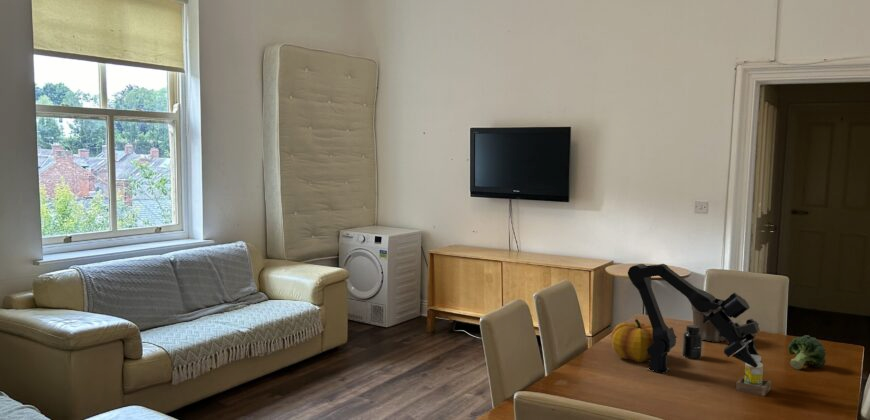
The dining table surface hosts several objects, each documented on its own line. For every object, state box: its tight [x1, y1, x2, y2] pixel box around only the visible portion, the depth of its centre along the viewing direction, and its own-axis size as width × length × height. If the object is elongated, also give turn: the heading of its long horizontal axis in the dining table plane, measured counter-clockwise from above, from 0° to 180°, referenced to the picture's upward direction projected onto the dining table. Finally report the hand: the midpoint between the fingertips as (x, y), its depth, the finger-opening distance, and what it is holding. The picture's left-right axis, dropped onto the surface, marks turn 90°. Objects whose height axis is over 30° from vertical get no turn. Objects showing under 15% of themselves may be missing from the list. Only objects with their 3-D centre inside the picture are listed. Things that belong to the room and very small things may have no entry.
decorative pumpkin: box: [611, 318, 654, 363], centre depth 254 cm, size 20×22×15 cm
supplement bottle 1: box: [682, 324, 703, 360], centre depth 256 cm, size 7×7×12 cm
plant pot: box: [690, 298, 726, 343], centre depth 282 cm, size 16×16×16 cm
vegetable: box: [787, 334, 827, 370], centre depth 245 cm, size 12×13×15 cm
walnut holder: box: [735, 375, 772, 397], centre depth 220 cm, size 9×9×3 cm
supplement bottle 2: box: [744, 354, 764, 386], centre depth 219 cm, size 5×5×10 cm
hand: (758, 364), depth 218 cm, fingers open, 5 cm apart
